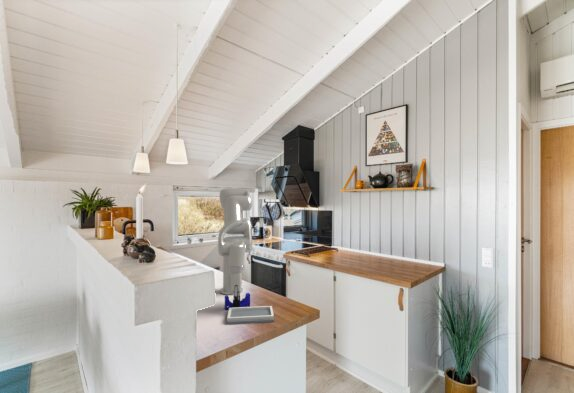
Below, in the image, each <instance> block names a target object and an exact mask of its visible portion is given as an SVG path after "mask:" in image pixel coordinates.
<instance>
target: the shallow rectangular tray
mask: <svg viewBox="0 0 574 393" xmlns="http://www.w3.org/2000/svg"><path fill="white" fill-rule="evenodd" d="M227 312H228V313H227V318H226V325H239V324H240V325H241V324H242V325H243V324H262V323H275V315H274V309H273V305H261V306H260V305H259V306H250V307H234V308H229V310H228V311H227Z"/></svg>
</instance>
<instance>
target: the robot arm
mask: <svg viewBox="0 0 574 393" xmlns="http://www.w3.org/2000/svg"><path fill="white" fill-rule="evenodd" d="M219 201H220V205H221V208H222V210H223V227H221V229H220V230H219V234H218V237H217V251H218V254H219V256H221V257H222V259H223V260H222V264H223V267H222V268H223V271H222V272H223V274H222V277H223V278H222V288H220V289H219V290H220V293H221V294H223V295H225V296H226V295H228V296H230V295H231V296H233V297H232V303H233V308H234V307H240V301H241V293H242V292H243V288H242V286H243V285H242V284H243V274H244V273H245V260H246V259H245V255H246V253H250V252H252V250H253V230H252V223H251V220H250V219H249V218H243V215H242V211H243V212H245V211H247V212H248V211H251V210H252V207H253V200H252V197H251V193H250V191H249V189H247V188H223V189H220V191H219ZM225 235H234V236H226V237H225ZM235 235H236V236H235ZM238 235H239V236H238ZM240 235H241V236H240ZM242 235H243V236H242Z"/></svg>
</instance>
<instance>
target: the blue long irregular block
mask: <svg viewBox="0 0 574 393" xmlns="http://www.w3.org/2000/svg"><path fill="white" fill-rule="evenodd" d="M240 307H251V294H250V293H249V292H245V296H244V298H242V299H240ZM229 308H233V301H231V300H230V297H229V295H226V294H225V295H224V309H225V311H229Z"/></svg>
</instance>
